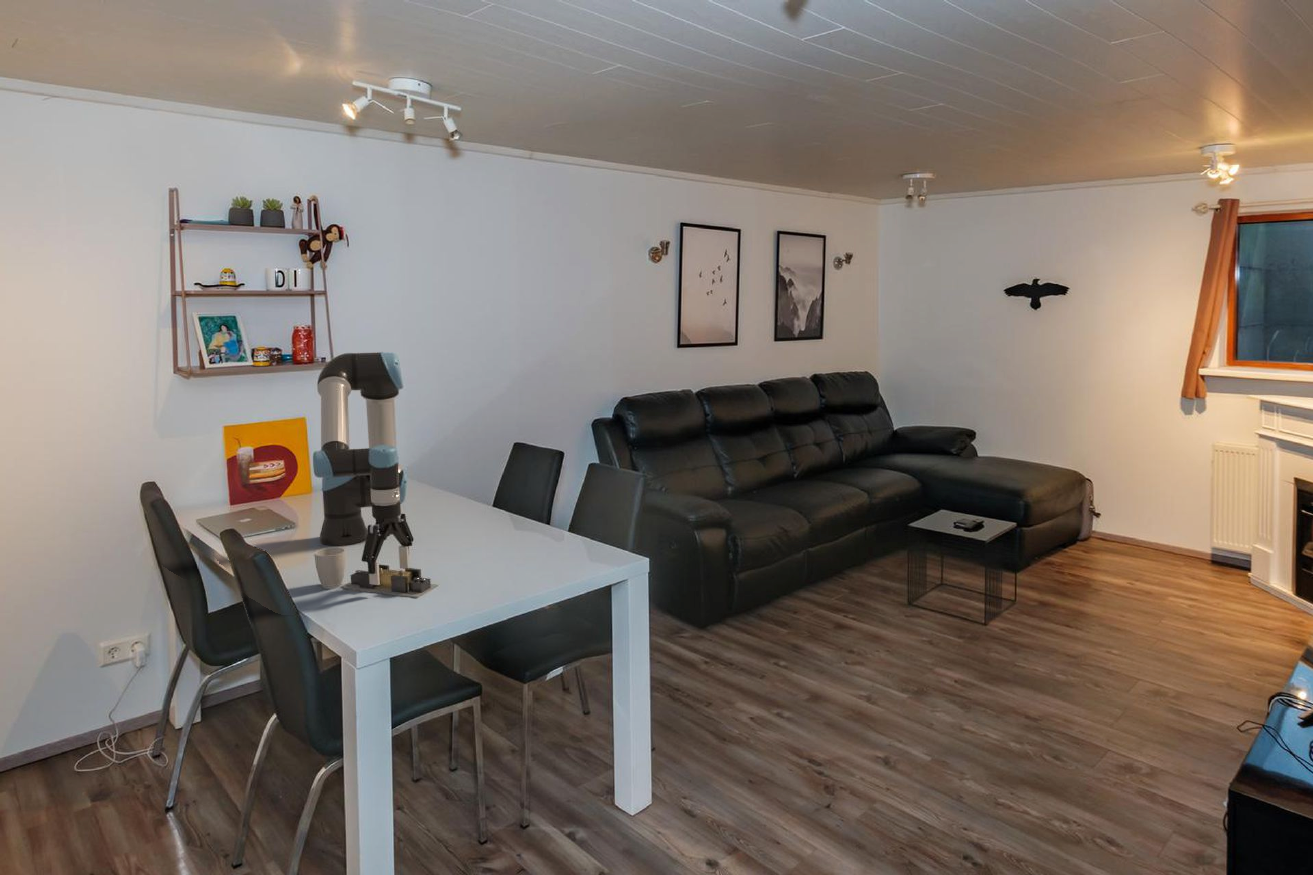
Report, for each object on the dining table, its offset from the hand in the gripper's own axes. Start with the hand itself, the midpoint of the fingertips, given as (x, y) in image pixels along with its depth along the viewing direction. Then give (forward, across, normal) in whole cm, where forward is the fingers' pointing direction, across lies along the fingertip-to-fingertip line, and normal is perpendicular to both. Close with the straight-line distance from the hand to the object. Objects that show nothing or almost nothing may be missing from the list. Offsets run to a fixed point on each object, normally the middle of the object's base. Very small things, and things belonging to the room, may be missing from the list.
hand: (390, 576), depth 231 cm
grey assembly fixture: (+3, 0, 0) cm, 3 cm away
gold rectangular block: (+3, 0, -1) cm, 3 cm away
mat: (+3, 0, 0) cm, 3 cm away
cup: (+3, -4, +16) cm, 17 cm away
